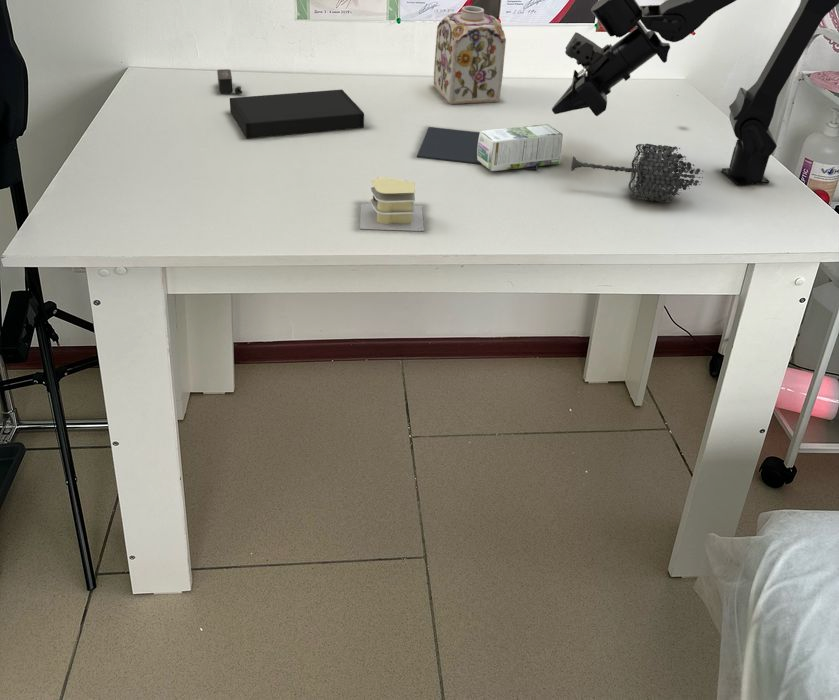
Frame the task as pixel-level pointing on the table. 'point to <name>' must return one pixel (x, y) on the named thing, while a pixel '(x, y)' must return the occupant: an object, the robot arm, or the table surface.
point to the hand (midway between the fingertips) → (553, 111)
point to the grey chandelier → (654, 172)
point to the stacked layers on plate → (392, 207)
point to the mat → (452, 146)
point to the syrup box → (519, 147)
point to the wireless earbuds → (226, 82)
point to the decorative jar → (469, 57)
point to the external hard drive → (295, 113)
